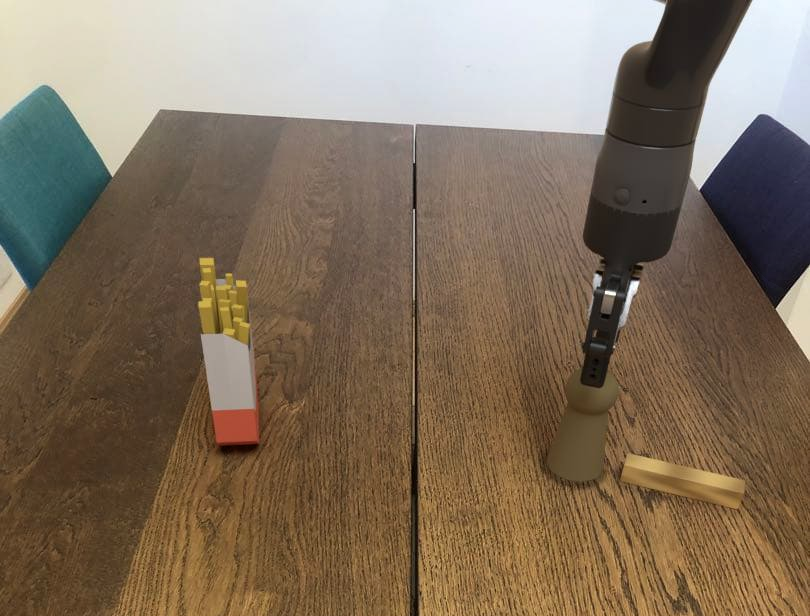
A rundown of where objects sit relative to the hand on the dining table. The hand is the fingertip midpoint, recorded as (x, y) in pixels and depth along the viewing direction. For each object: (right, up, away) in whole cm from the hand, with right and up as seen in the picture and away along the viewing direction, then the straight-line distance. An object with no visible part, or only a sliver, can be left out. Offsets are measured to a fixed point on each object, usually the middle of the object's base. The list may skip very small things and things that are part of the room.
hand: (599, 361), depth 79 cm
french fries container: (-37, -5, +11) cm, 39 cm away
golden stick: (+10, -12, +6) cm, 17 cm away
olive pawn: (-1, -9, +9) cm, 13 cm away
